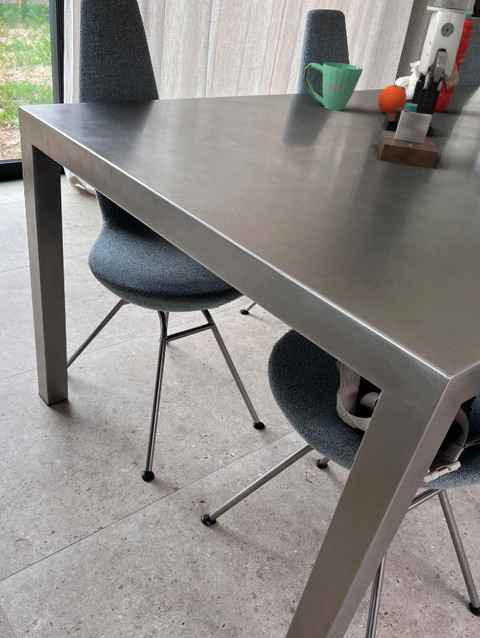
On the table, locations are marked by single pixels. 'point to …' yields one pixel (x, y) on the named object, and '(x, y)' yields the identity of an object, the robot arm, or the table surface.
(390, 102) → the clementine
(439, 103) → the red bag
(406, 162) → the block
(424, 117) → the silver flat panel
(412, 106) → the button
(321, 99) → the mug
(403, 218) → the table surface
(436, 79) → the robot arm
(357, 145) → the table surface
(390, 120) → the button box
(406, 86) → the bust
